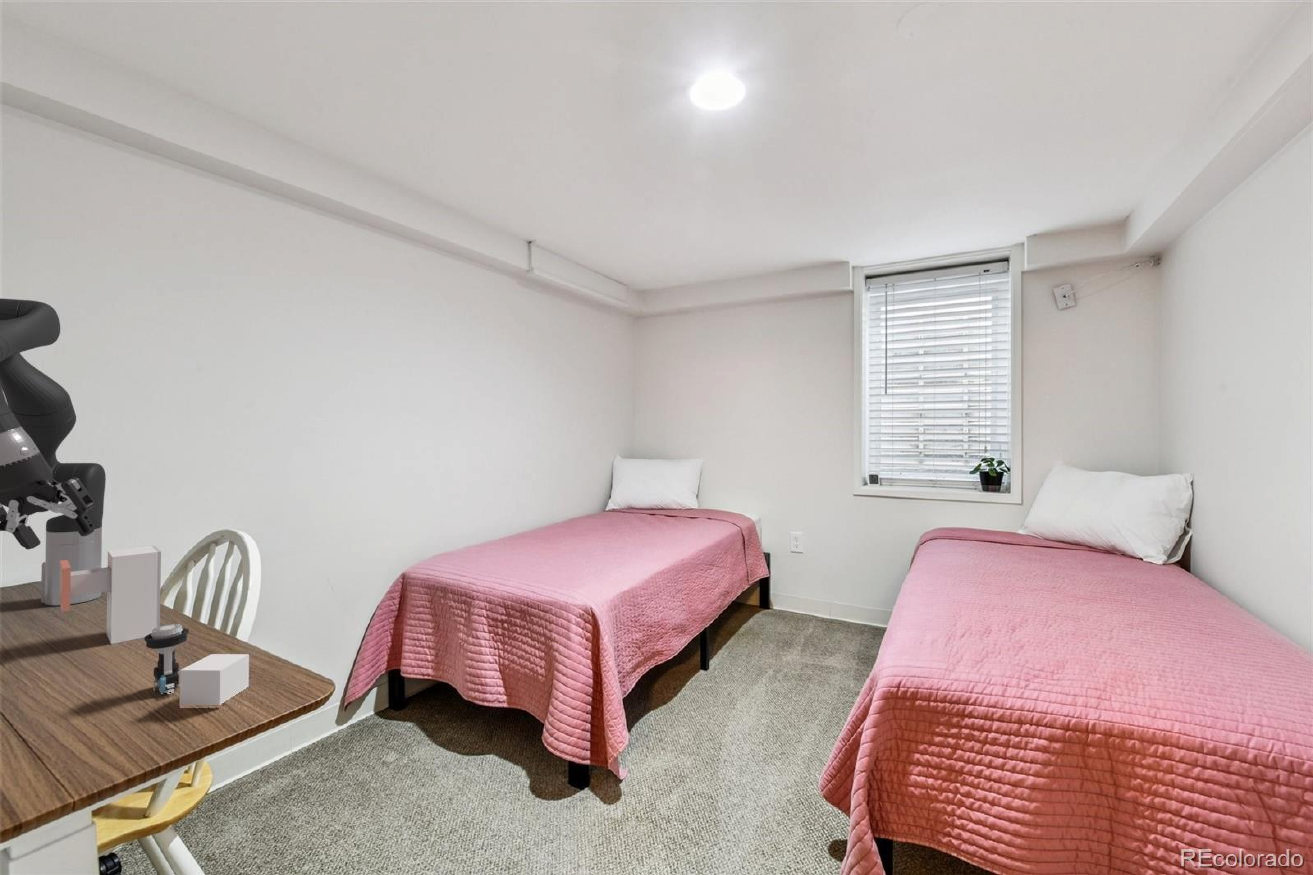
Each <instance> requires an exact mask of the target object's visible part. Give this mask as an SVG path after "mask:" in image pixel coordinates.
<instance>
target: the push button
mask: <svg viewBox="0 0 1313 875" xmlns="http://www.w3.org/2000/svg"><path fill="white" fill-rule="evenodd" d="M189 632H190V629H189V628H186V627H183V625H182V624H180V623H170V624H164V625H160V626H159V627H156V628H154V629H153V630H152V633H151V634H149V635H147V636H145V637H144V638H143V640H144V642H145V647H146V648H148V649H151V650H154V651H159V653H158V660H157V666H156V667H154V668H153V677H154V679H155V680H153V682H152V683H153V684H152V685H153V686H152V687H153V688H152V690H154V691H155V692H156V687H157V686H158V687H159V689H160V691H161V693H166V692H167V695H171V694H174V693H175V692H174V690H175V691H176V687H177V686H178V685H179V686H180V673H179V672H180V663H179V662H176V658H175V656H176V653H175V652H176V650H174V649H175V648H176V647H178V646H181V644H182V643H184V642H186V641H187V640H188V635H189ZM158 687H157V688H158ZM159 689H158V690H159ZM154 691H153V692H154ZM160 691H159V692H160ZM169 692H171V693H169Z"/></svg>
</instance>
